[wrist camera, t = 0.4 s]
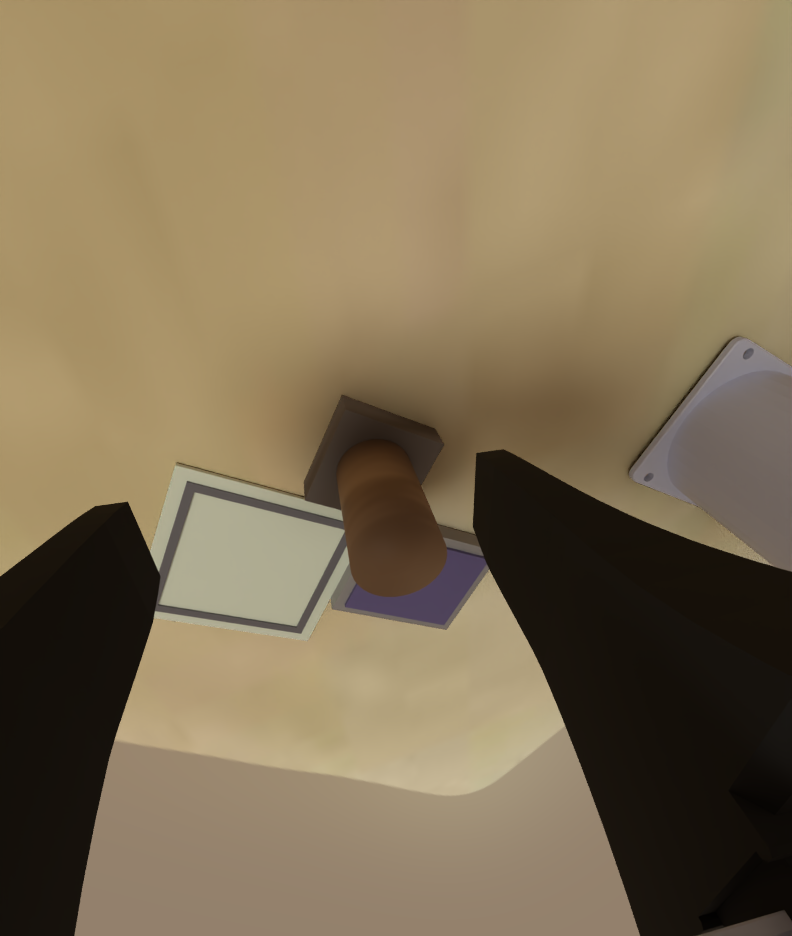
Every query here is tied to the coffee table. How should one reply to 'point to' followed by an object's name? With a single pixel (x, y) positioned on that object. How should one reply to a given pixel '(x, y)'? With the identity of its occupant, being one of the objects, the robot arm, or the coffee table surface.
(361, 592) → the ink pad
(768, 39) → the coffee table surface
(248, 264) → the coffee table surface
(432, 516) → the stamp
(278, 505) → the sheet
